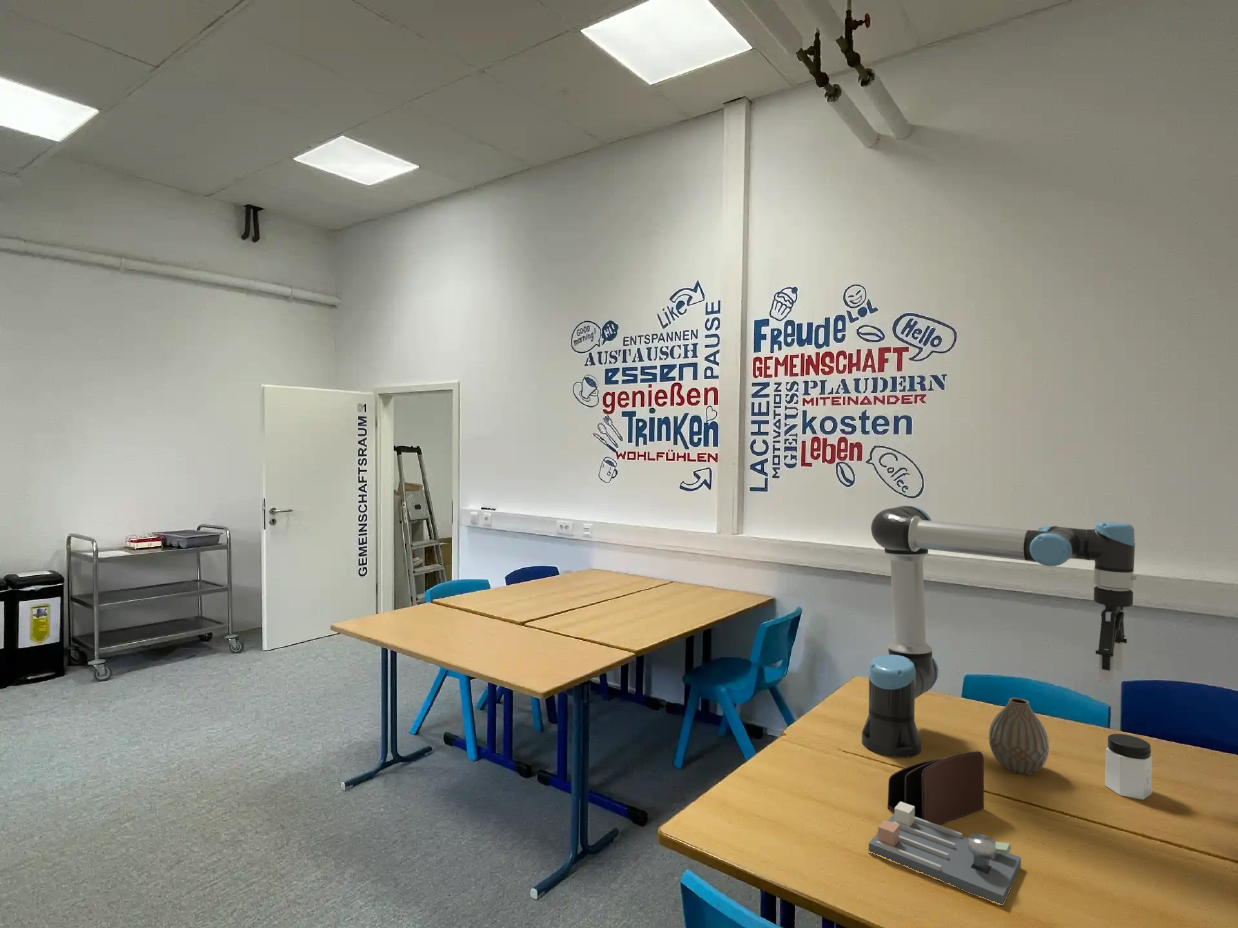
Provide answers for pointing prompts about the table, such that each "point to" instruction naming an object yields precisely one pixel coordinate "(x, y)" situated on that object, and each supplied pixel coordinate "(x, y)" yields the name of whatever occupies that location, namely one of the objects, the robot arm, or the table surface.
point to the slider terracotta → (888, 833)
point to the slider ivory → (904, 814)
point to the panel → (951, 859)
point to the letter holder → (940, 787)
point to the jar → (1128, 766)
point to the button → (981, 849)
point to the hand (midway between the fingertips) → (1110, 675)
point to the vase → (1019, 738)
